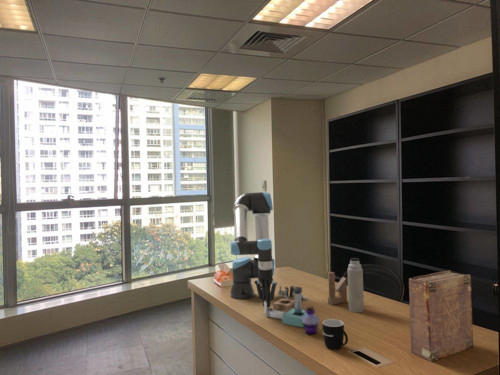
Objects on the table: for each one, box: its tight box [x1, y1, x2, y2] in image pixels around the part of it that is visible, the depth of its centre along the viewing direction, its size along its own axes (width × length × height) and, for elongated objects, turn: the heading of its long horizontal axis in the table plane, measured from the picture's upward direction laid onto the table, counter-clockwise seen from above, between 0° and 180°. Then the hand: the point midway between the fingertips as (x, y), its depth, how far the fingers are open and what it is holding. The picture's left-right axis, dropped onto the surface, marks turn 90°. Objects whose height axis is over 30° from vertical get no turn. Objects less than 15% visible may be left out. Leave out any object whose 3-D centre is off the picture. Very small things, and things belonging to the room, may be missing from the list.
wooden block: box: [327, 271, 348, 306], centre depth 216 cm, size 4×11×18 cm, turn 111°
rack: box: [272, 297, 295, 313], centre depth 205 cm, size 10×10×5 cm
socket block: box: [281, 308, 315, 328], centre depth 189 cm, size 12×12×4 cm
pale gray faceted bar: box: [265, 307, 285, 320], centre depth 195 cm, size 14×4×4 cm, turn 57°
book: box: [408, 269, 474, 362], centre depth 152 cm, size 25×9×30 cm, turn 116°
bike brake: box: [277, 284, 308, 301], centre depth 226 cm, size 14×7×20 cm
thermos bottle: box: [347, 257, 365, 313], centre depth 203 cm, size 8×8×28 cm
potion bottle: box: [302, 305, 320, 336], centre depth 175 cm, size 9×9×12 cm
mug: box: [321, 318, 349, 350], centre depth 158 cm, size 12×9×10 cm
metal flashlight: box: [293, 286, 303, 316], centre depth 189 cm, size 4×4×17 cm
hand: (266, 313), depth 199 cm, fingers closed
